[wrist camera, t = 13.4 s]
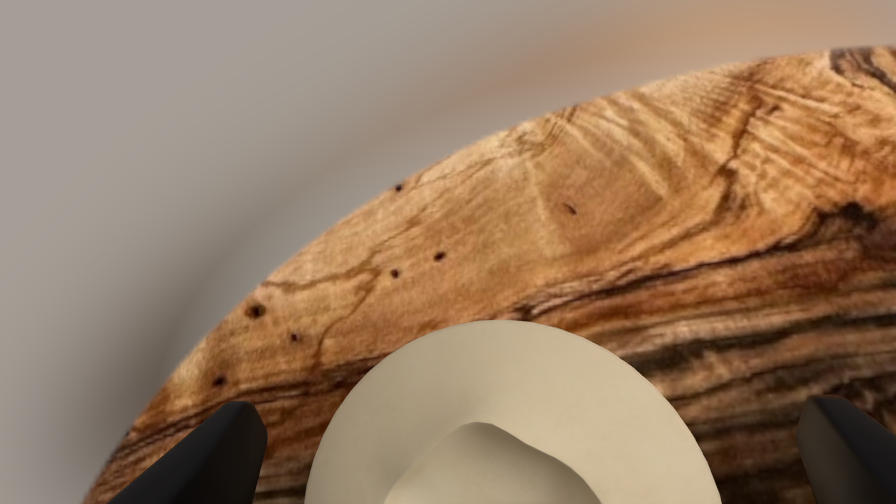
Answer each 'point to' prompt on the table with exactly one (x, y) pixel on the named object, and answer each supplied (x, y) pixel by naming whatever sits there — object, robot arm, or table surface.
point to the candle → (507, 427)
